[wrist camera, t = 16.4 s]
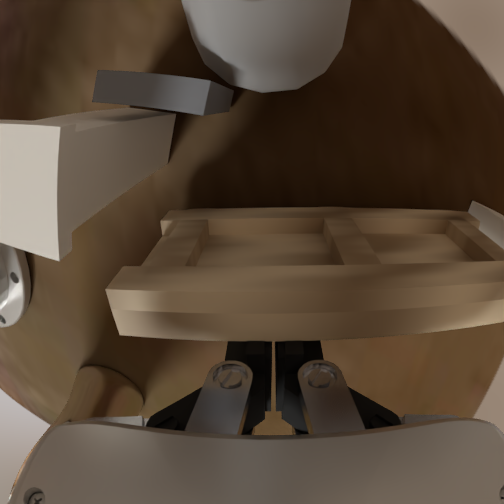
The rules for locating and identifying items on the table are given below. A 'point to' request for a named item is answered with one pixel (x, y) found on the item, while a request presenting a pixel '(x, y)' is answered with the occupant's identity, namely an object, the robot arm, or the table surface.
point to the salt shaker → (267, 39)
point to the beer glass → (97, 399)
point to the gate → (311, 275)
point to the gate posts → (106, 158)
